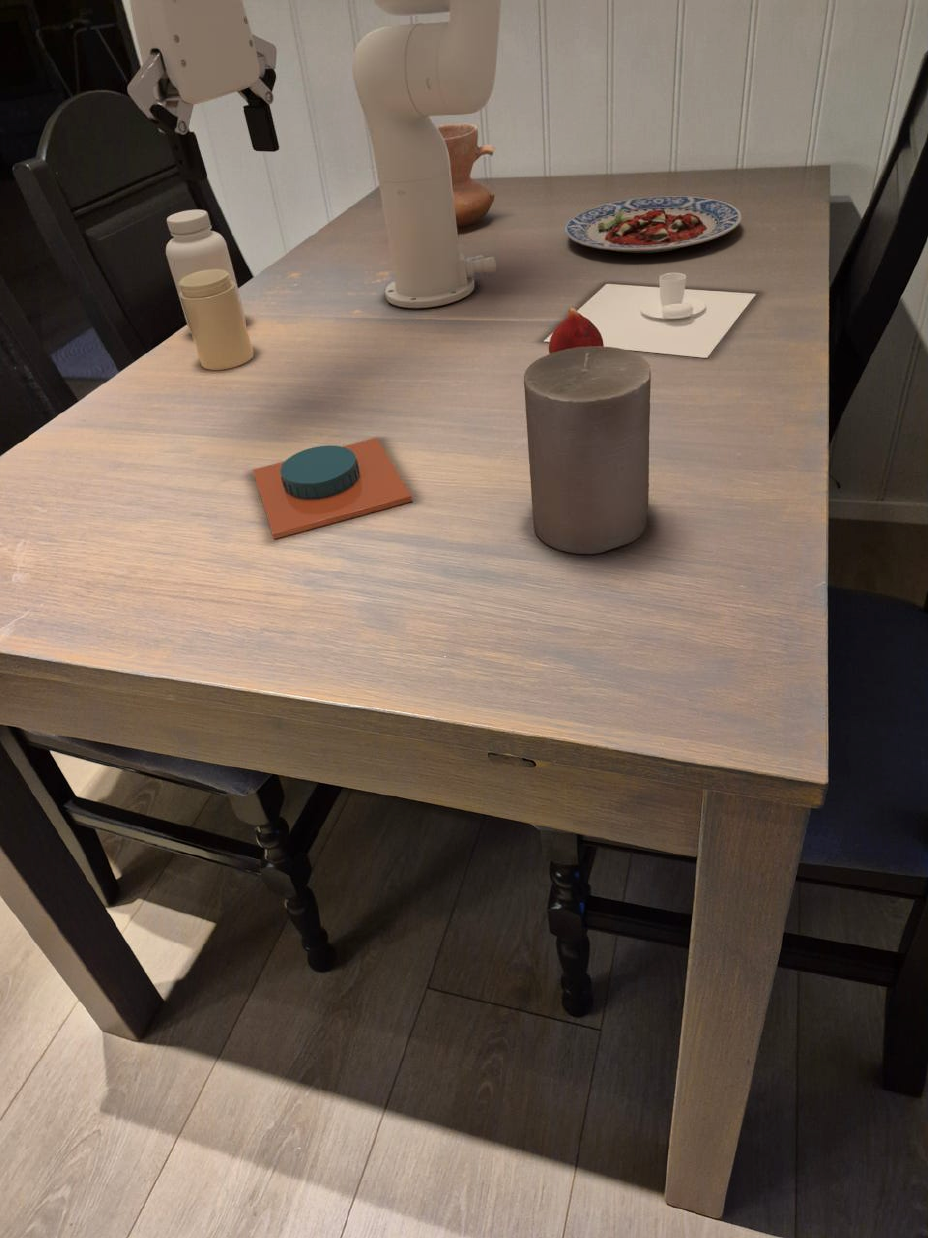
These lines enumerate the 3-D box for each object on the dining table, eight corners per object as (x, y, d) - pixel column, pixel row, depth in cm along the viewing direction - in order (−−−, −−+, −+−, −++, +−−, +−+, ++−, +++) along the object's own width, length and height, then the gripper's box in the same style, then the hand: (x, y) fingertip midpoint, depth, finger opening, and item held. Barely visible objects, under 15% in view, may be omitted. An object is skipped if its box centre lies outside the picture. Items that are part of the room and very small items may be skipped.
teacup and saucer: (691, 327, 105) (693, 293, 102) (627, 321, 109) (627, 288, 106) (713, 300, 111) (715, 267, 108) (652, 296, 114) (653, 264, 112)
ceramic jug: (500, 206, 156) (492, 115, 147) (500, 230, 145) (492, 133, 136) (399, 218, 158) (385, 128, 149) (391, 242, 146) (376, 147, 137)
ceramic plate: (778, 227, 130) (780, 206, 128) (648, 277, 120) (648, 254, 118) (654, 201, 147) (654, 182, 145) (531, 242, 138) (530, 222, 136)
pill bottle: (234, 338, 120) (201, 222, 110) (180, 340, 122) (143, 225, 112) (256, 316, 126) (226, 203, 116) (204, 318, 127) (171, 207, 118)
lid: (357, 454, 89) (354, 439, 87) (361, 491, 83) (358, 475, 82) (284, 467, 88) (280, 452, 87) (283, 505, 82) (278, 489, 81)
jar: (242, 343, 118) (220, 263, 111) (261, 358, 113) (239, 275, 107) (194, 359, 116) (168, 278, 109) (211, 374, 111) (185, 291, 104)
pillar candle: (553, 487, 81) (544, 326, 71) (660, 499, 77) (665, 331, 68) (517, 547, 74) (501, 378, 64) (632, 563, 70) (634, 387, 61)
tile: (378, 442, 91) (376, 437, 91) (412, 501, 82) (411, 495, 81) (254, 474, 89) (252, 469, 89) (274, 539, 79) (272, 533, 79)
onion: (608, 370, 99) (608, 298, 94) (597, 392, 95) (596, 319, 90) (557, 368, 100) (554, 298, 96) (544, 390, 96) (540, 318, 91)
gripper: (217, -65, 82) (267, 139, 93) (62, -37, 72) (137, 189, 83) (275, -74, 78) (319, 141, 89) (119, -44, 68) (190, 193, 79)
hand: (231, 164), depth 86 cm, fingers open, 9 cm apart
